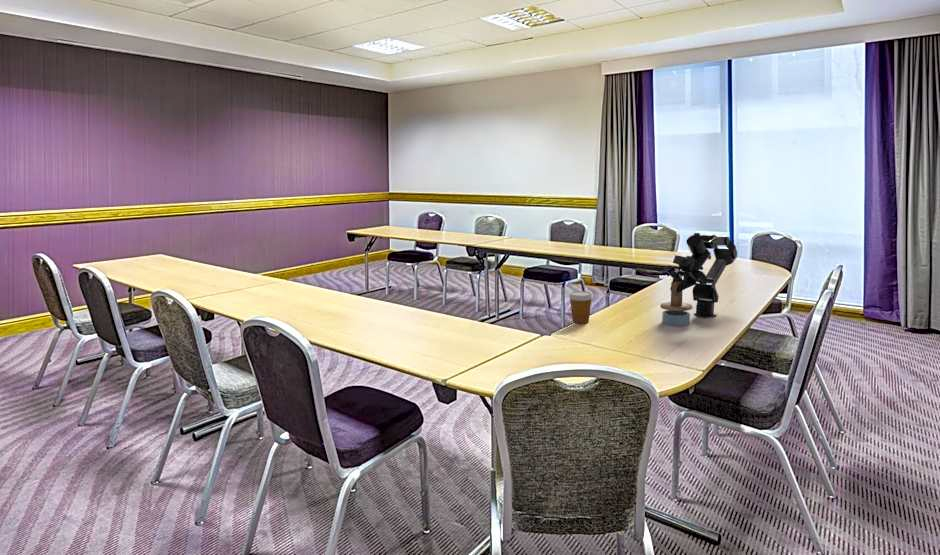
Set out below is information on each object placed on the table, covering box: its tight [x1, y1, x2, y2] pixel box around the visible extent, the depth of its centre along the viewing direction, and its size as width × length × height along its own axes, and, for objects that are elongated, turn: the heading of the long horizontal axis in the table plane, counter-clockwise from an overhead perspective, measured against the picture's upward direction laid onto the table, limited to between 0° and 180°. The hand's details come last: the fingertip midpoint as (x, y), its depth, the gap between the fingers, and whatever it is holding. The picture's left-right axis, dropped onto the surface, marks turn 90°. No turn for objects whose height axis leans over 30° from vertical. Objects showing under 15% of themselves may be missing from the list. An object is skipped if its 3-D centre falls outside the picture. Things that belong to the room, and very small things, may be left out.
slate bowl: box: [661, 310, 691, 327], centre depth 237 cm, size 10×10×4 cm
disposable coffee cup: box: [568, 290, 594, 325], centre depth 242 cm, size 10×10×12 cm
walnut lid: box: [660, 281, 693, 311], centre depth 236 cm, size 12×12×10 cm
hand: (673, 291), depth 235 cm, fingers closed on walnut lid, 3 cm apart
